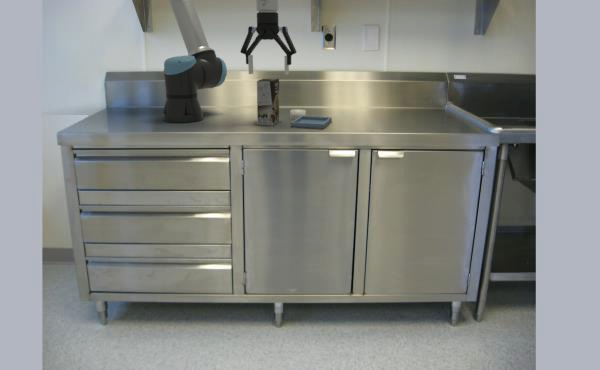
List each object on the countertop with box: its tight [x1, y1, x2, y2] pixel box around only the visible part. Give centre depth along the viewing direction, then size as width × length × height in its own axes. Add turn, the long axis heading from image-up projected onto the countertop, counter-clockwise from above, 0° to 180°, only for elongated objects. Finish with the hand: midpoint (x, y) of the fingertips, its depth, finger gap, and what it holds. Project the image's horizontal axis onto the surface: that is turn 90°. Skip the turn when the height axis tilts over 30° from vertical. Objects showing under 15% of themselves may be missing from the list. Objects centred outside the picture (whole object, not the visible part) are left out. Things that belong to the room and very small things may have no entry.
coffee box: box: [256, 78, 280, 127], centre depth 183 cm, size 9×6×16 cm
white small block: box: [289, 108, 307, 121], centre depth 194 cm, size 6×6×4 cm
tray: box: [290, 115, 333, 130], centre depth 184 cm, size 12×14×2 cm
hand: (268, 74), depth 180 cm, fingers open, 13 cm apart
